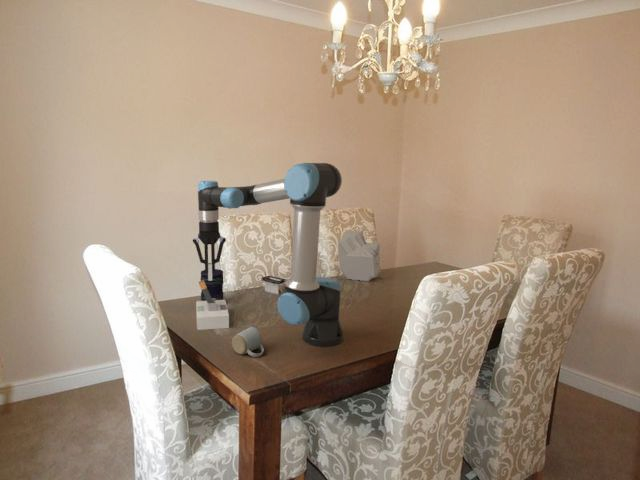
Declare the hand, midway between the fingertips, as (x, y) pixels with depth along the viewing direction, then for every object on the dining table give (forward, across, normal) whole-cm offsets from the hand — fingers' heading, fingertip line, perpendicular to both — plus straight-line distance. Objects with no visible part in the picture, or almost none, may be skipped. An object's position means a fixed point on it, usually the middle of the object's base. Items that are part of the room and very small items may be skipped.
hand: (210, 279), depth 185 cm
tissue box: (+18, -82, -51) cm, 98 cm away
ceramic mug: (+18, -12, +33) cm, 39 cm away
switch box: (+17, 0, -1) cm, 17 cm away
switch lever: (+11, 0, 0) cm, 11 cm away
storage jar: (+17, -1, -21) cm, 27 cm away
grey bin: (+18, -31, -35) cm, 50 cm away
